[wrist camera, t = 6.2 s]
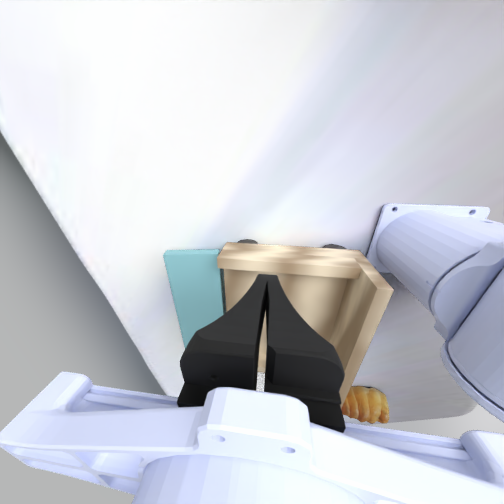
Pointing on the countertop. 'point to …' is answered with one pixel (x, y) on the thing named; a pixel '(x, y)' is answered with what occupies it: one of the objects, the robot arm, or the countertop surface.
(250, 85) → the countertop surface
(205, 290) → the panel
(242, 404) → the robot arm
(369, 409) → the pastry
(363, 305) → the tray
